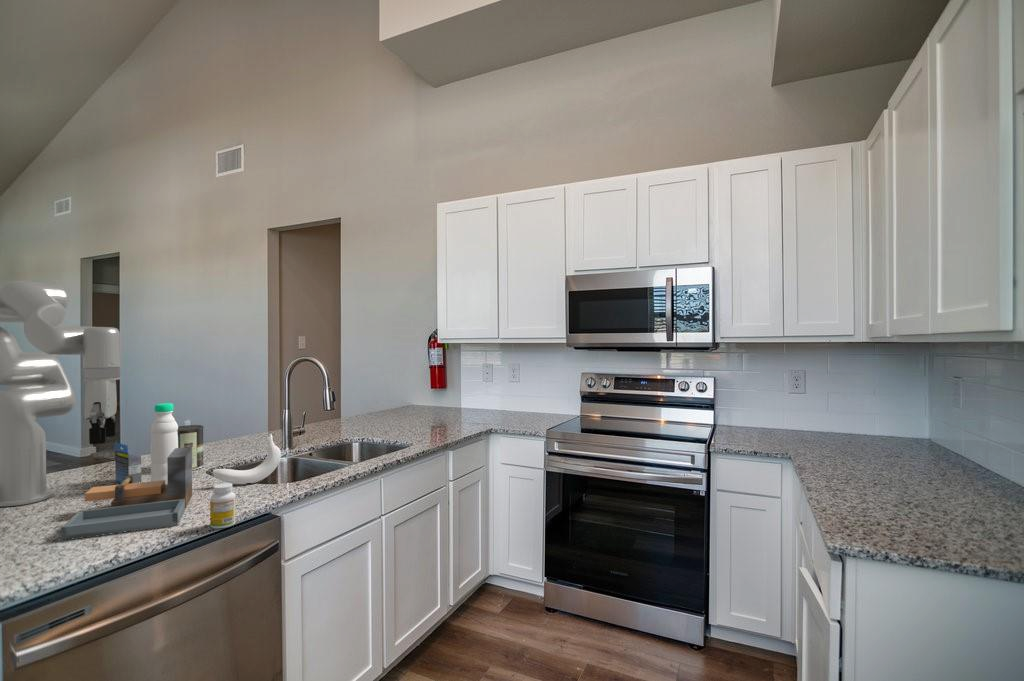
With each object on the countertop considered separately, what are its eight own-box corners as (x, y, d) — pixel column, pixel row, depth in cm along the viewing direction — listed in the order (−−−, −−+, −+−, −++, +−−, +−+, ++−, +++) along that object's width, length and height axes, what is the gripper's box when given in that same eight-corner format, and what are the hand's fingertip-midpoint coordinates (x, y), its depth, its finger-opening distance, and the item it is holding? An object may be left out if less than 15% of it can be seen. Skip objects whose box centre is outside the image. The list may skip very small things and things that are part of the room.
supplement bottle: (217, 521, 127) (216, 482, 127) (239, 520, 128) (239, 481, 128) (205, 529, 122) (205, 488, 122) (229, 528, 123) (229, 488, 122)
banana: (211, 487, 155) (211, 438, 155) (278, 476, 167) (278, 431, 167) (214, 491, 152) (214, 441, 151) (282, 479, 163) (282, 433, 163)
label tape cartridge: (142, 482, 160) (141, 443, 160) (127, 485, 156) (127, 445, 156) (128, 478, 164) (128, 439, 164) (114, 481, 161) (114, 442, 161)
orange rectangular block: (85, 501, 130) (84, 493, 130) (92, 494, 135) (92, 487, 135) (160, 493, 136) (160, 485, 136) (165, 487, 142) (165, 480, 142)
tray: (61, 540, 115) (61, 527, 115) (79, 522, 126) (79, 510, 126) (177, 525, 124) (177, 513, 124) (185, 509, 135) (185, 498, 135)
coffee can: (191, 463, 183) (190, 424, 183) (210, 466, 179) (210, 426, 179) (161, 470, 174) (161, 428, 173) (181, 474, 169) (180, 431, 169)
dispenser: (111, 517, 129) (110, 462, 129) (123, 503, 140) (123, 452, 140) (185, 508, 136) (185, 456, 136) (192, 495, 147) (191, 446, 147)
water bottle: (164, 489, 153) (163, 405, 152) (144, 488, 154) (144, 404, 154) (184, 482, 160) (183, 402, 159) (164, 481, 161) (164, 401, 161)
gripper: (93, 372, 140) (94, 435, 140) (73, 377, 124) (73, 448, 124) (127, 371, 143) (128, 433, 143) (111, 376, 127) (112, 445, 128)
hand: (102, 440), depth 134 cm, fingers open, 9 cm apart
